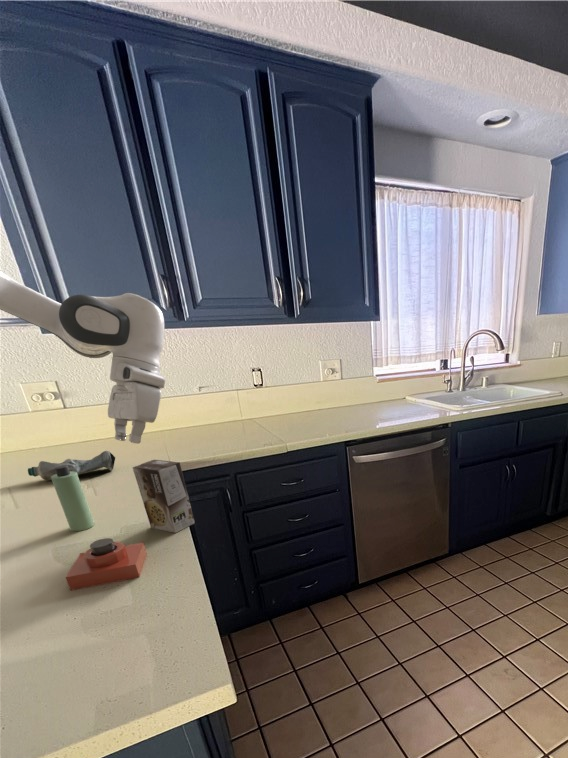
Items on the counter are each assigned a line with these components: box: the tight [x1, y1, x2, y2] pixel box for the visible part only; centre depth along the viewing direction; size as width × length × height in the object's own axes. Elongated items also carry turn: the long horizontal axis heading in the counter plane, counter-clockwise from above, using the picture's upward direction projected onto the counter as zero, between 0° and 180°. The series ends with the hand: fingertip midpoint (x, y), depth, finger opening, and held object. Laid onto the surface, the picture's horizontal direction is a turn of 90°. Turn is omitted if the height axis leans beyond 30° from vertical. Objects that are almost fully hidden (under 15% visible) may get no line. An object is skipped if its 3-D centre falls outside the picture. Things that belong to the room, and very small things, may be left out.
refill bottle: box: [51, 465, 96, 532], centre depth 105 cm, size 5×5×16 cm
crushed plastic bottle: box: [27, 450, 116, 481], centre depth 146 cm, size 13×7×25 cm
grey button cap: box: [89, 537, 116, 556], centre depth 86 cm, size 4×4×2 cm
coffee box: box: [132, 459, 196, 534], centre depth 104 cm, size 9×6×16 cm
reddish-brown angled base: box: [65, 541, 148, 591], centre depth 87 cm, size 12×10×5 cm
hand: (127, 441), depth 92 cm, fingers open, 8 cm apart
